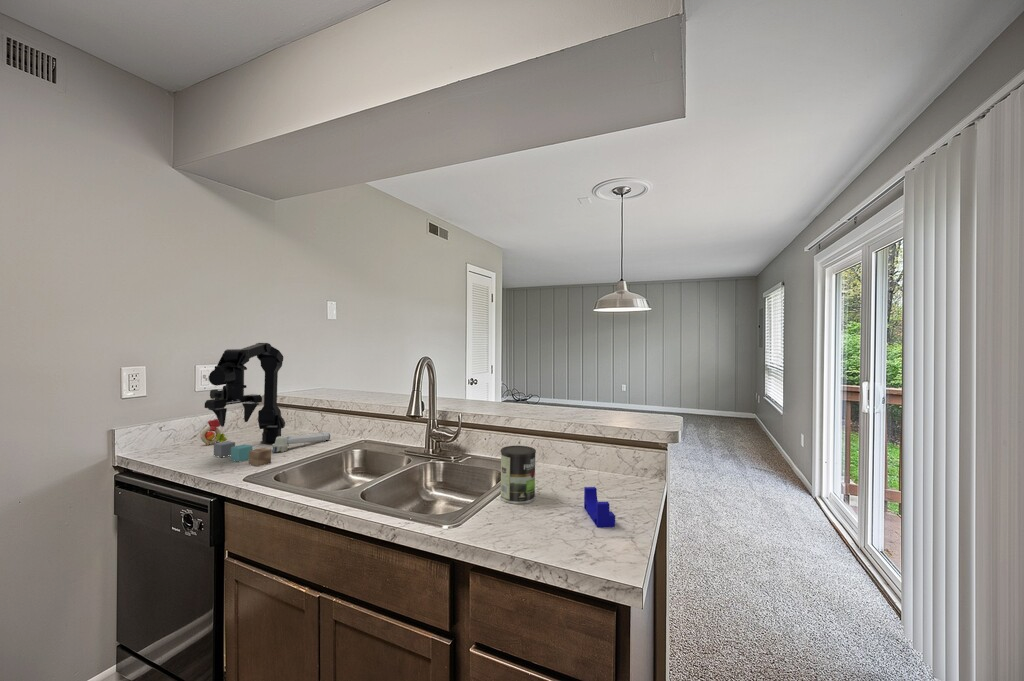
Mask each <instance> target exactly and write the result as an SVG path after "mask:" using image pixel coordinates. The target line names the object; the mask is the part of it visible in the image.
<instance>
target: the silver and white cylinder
mask: <svg viewBox="0 0 1024 681" xmlns="http://www.w3.org/2000/svg"><path fill="white" fill-rule="evenodd" d="M326 440H329V441H330V440H331V434H330V432H327V431H326V432H323V431H319V432H317V433H308V434H301V435H300V434H299V435H290V436H282V435H281V436H279V437H277V438H276V441H275V443H273V444H271V447H272V450H271V453H272V452H273V453H278V452H280V453H285V452H288V447H290V445H293V444H295V445H296V444H307V443H309V444H310V443H323V442H327V441H326ZM284 451H285V452H284Z"/></svg>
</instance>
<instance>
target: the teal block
mask: <svg viewBox="0 0 1024 681" xmlns="http://www.w3.org/2000/svg"><path fill="white" fill-rule="evenodd" d="M253 447H254V446H253V445H249V444H245V443H244V444H239V445H235V446H234V447H231V456H230V461H231V460H235V461H234V462H236V461H242V462H244V461H243V460H246V461H249V460H248V459H249V451H251V450H254V448H253Z"/></svg>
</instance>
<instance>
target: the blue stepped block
mask: <svg viewBox="0 0 1024 681" xmlns="http://www.w3.org/2000/svg"><path fill="white" fill-rule="evenodd" d="M583 489H584V490H583V491H584V495H583V509H584V511H585V512H586V513H587V514H588V516H589V517H590V519H591V520H592V522H593V523H594V525H595V526H596V528H597V529H598V528H616V515H615V513H614V512H613V511H611V510H610V503H609V501H599V500H598V494H597V492H598V491H597V487H596V486H584V488H583Z"/></svg>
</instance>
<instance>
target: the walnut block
mask: <svg viewBox="0 0 1024 681" xmlns="http://www.w3.org/2000/svg"><path fill="white" fill-rule="evenodd" d="M268 463H269V464H271V463H272V449H269V448H265V447H264V448H263V447H261V448H257V449H253V450H251V451H249V460H248V465H249V464H251V465H250V466H253V465H255V466H254V467H257V466H258V467H261V466H260V465H262V466H265V465H268ZM264 464H265V465H264Z"/></svg>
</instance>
